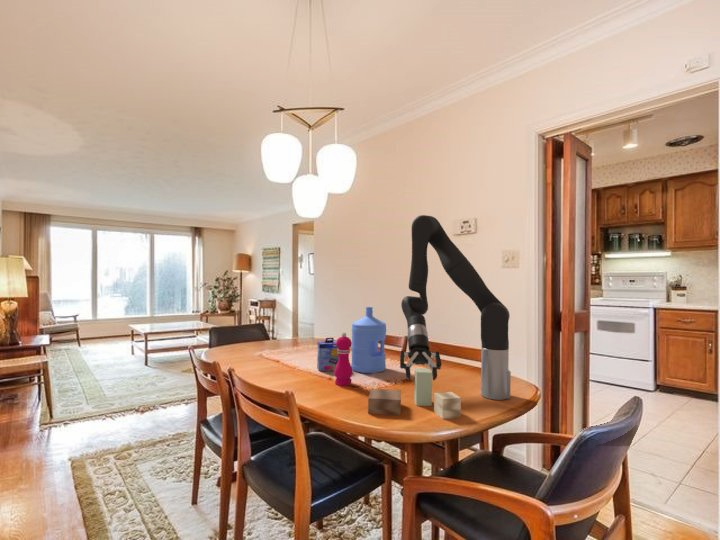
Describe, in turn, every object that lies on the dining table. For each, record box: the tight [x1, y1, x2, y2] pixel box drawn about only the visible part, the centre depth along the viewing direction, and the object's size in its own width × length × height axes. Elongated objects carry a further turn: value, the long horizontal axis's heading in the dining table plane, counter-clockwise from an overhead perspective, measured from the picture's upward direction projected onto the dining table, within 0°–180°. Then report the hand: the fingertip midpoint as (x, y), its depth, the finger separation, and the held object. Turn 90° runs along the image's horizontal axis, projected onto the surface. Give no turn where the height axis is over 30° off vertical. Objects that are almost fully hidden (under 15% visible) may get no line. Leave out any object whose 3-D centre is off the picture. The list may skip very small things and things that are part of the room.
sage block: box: [413, 368, 433, 407], centre depth 129 cm, size 5×5×11 cm
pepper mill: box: [333, 332, 354, 387], centre depth 150 cm, size 7×7×20 cm
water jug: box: [350, 306, 387, 374], centre depth 173 cm, size 16×16×28 cm
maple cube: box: [433, 391, 462, 420], centre depth 119 cm, size 6×6×6 cm
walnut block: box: [367, 388, 402, 416], centre depth 123 cm, size 10×10×5 cm
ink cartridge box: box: [316, 337, 339, 372], centre depth 172 cm, size 10×6×14 cm, turn 107°
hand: (421, 378), depth 131 cm, fingers open, 8 cm apart
